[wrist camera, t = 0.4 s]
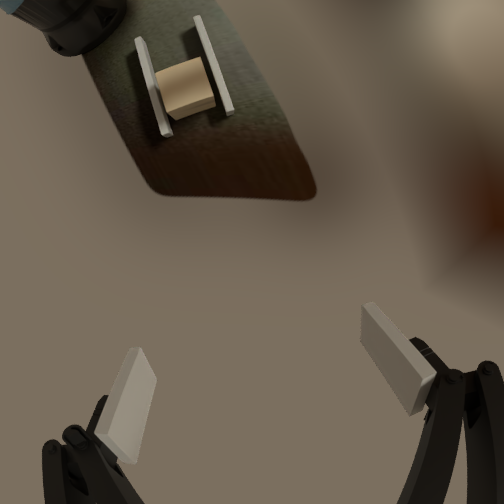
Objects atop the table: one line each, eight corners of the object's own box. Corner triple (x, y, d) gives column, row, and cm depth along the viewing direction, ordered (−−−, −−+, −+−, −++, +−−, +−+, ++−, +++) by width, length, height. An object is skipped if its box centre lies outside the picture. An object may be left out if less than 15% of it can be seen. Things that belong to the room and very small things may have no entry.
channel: (140, 46, 30) (134, 38, 27) (201, 23, 29) (199, 14, 27) (167, 137, 35) (161, 135, 32) (233, 114, 35) (234, 109, 32)
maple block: (165, 85, 32) (154, 73, 27) (204, 71, 32) (200, 56, 27) (176, 120, 34) (166, 112, 29) (216, 106, 34) (213, 95, 28)
